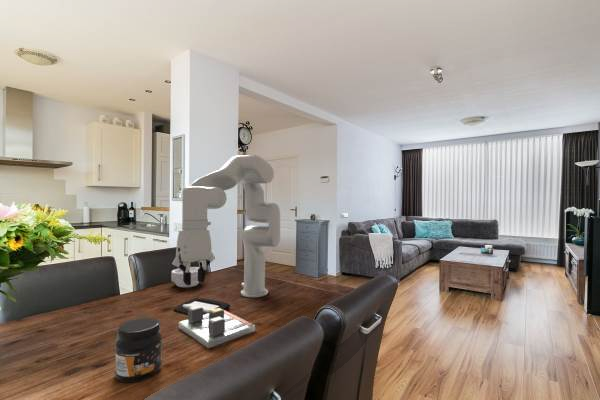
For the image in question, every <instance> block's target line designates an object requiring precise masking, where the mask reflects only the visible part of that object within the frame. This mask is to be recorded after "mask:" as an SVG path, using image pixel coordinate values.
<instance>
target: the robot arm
mask: <svg viewBox="0 0 600 400" xmlns="http://www.w3.org/2000/svg"><path fill="white" fill-rule="evenodd" d="M274 175H275V173H274V169H273V167H272V165H271V164H270V163H269V162H268V161H266V160H265V159H264V158H263V157H261V156H259V155H256V154H246V155H235V156H232V157H231V158H230V159H229V160H228V161H227V162H226V163H225V164H224V165H223V166H222V167H221V168H219V170H216V171H213V172H211V173H208V174H206V175H203V176H202V177H199V178H197V179H196V180H194V181H193V182H192V183H191V184H190V185H189V186H185V187H184V188H183V189H182V198H181V199H182V201H181V203H182V206H181V207H182V209H181V212H182V213H181V214H182V216H181V217H182V219H181V229H179V230H178V235H177V240H176V249H175V257H174V259H173V261H172V262H171V264H172V265H173V266H175V267H177V268H178V269H179V268H180V269H181V270H182V271H183V281H184V283H185V284H186V285H191V272H189V269H190V267H191V264H192V263H195V262H198V267H199V269H198V281H199V283H205V279H206V270H207V268H208V267H209V265H210V264H211V263H212V262H213V261H215V259H216V256H215V255H214V254H213V251H212V241H211V240H212V239H211V234H210V229H209V228H208V227H209V226H210V225H212V222H211V221H209V220H208V210H217V209H218V210H219V209H221V208H223V207H224V205H226V202H227V193H226V192H225V191H227V190H228V191H229V190H230V189H233V188H235V187H236V186H237V185H238V184H239V183H240V184H241V186H242V188H243V189H244V193H245V219H246V221H247V222H249V223H254V224H258V223H259V224H268V225H249V226H246V227H245V228H243V231H242V233H241V234H242V242H243V251H244V254H243V256H244V261H243V262H244V265H243V266H244V267H243V268H244V272H243V273H244V275H243V277H244V279H243V281H244V282H241V284H240V285H241V287H243V289H241V290H240V295H241V296H242V297H245V298H260V297H261V298H262V297H264V296H267V295H268V294H269V290H268V288H266V286H265V285H266V254H265V252H264V250H263V248H264V247H265V248H275V247H277V246H279V244H280V242H281V241H280V240H281V209H280V206H279V205H278V204H277V203H276V202H266V201H265V191H264V189H263V187H262V186H261V184H268V183H269V184H270V183H271V182H272V181H273V180H274V177H275V176H274ZM262 247H263V248H262ZM181 262H182V263H181Z"/></svg>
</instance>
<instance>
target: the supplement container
mask: <svg viewBox="0 0 600 400" xmlns="http://www.w3.org/2000/svg"><path fill="white" fill-rule="evenodd" d="M116 329H117V331H116V333H117V334H116V335H117V338H116V339H115V341H114V348H115V351H114V352H115V354H114V355H115V357H114V359H115V360H114V365H115V366H114V367H115V368H114V376H115V378H116V380H117V381H119V382H120V381H121V382H124V383H136V382H135V381H137V382H141V381H144V380H146V378H147V379H149V378H150V377H152V376H154V375H155V374H156V373H158V372H159V370H160V369H161V367H162V363H163V360H162V339H163V334H162V333H163V332H161V330H160V329H161V321H160V320H159V319H157V318H155V317H142V318H141V317H140V318H134V319H132V320H128V321H125V322H123V323H121V324H120V325H119V326H118V327H117V328H116ZM143 379H144V380H143ZM140 380H141V381H140Z"/></svg>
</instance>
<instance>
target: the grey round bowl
mask: <svg viewBox="0 0 600 400" xmlns="http://www.w3.org/2000/svg"><path fill="white" fill-rule="evenodd" d="M198 269H199V266H190V269H189V272H191V285H186V284H185V283H184V281H183V271H182V270H181V269H180V268H179V267H178V268H176V269H173V270H171V282H173V283H174V284H175V285H176V287H179V288H192V287H195V286H198V284H200V282H199V281H198Z"/></svg>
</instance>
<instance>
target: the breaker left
mask: <svg viewBox="0 0 600 400" xmlns="http://www.w3.org/2000/svg"><path fill="white" fill-rule="evenodd" d="M187 320H188V321H190V322H191V323H193V322H197V321H200V320H203V308H202V307H200V306H194V307H190V308H189V309H188V315H187Z"/></svg>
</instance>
